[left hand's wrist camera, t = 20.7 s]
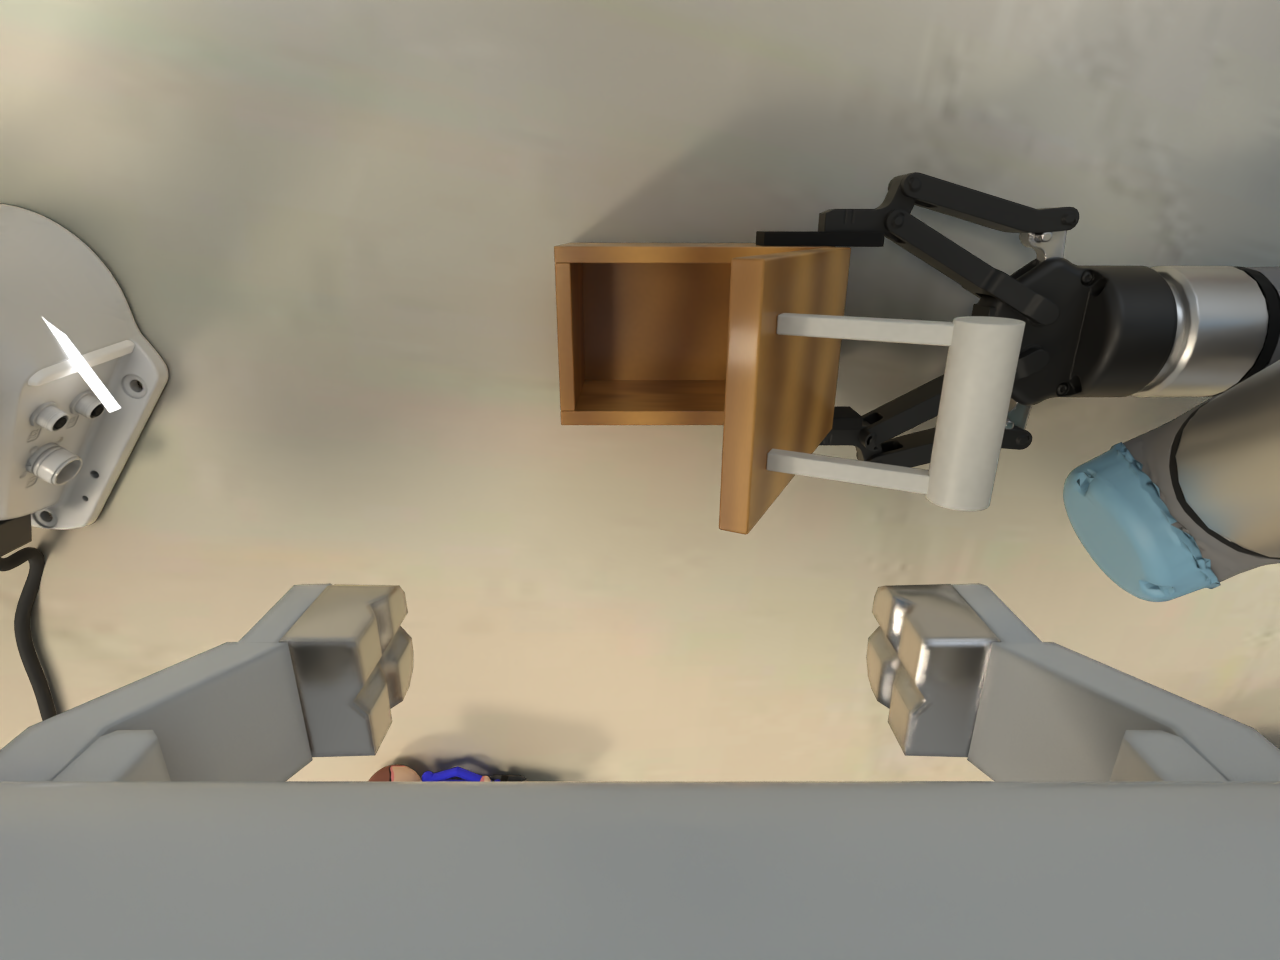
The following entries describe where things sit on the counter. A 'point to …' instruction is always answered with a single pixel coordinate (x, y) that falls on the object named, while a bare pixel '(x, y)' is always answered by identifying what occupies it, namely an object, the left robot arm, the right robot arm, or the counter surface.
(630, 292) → the chest
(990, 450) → the lid
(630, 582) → the counter surface
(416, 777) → the figurine character
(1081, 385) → the right robot arm
